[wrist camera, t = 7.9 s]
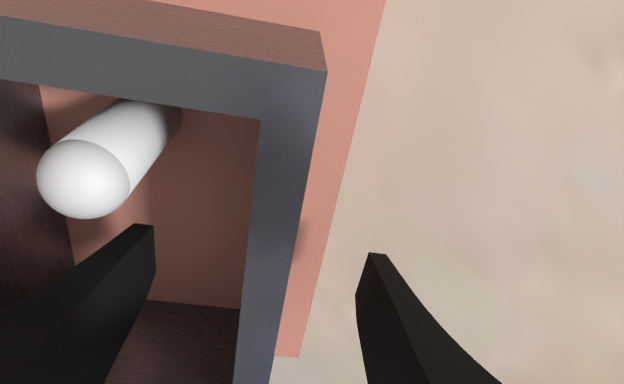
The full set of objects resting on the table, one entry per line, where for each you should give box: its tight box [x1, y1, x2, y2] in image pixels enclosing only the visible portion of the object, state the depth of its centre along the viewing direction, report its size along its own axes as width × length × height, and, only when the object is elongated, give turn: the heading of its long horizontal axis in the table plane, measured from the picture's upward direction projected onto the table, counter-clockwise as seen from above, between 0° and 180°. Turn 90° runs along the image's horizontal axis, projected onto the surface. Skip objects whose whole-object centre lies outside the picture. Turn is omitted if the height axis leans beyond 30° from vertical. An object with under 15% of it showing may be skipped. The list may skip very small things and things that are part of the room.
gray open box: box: [0, 0, 328, 384], centre depth 13 cm, size 14×10×5 cm
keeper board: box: [36, 0, 386, 358], centre depth 13 cm, size 18×14×7 cm
